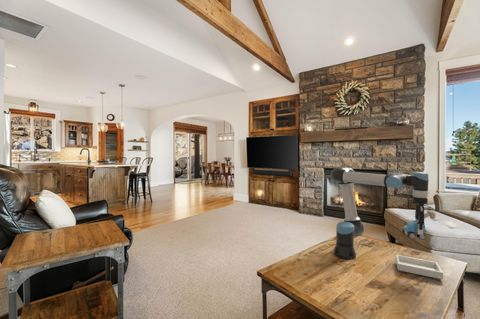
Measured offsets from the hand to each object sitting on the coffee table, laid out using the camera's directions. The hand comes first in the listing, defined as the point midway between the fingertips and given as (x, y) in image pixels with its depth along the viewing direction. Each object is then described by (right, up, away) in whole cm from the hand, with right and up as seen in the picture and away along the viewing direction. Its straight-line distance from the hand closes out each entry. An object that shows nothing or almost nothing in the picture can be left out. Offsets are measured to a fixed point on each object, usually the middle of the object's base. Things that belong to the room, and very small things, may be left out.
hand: (418, 232), depth 149 cm
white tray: (0, -26, +1) cm, 26 cm away
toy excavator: (0, -4, 0) cm, 4 cm away
